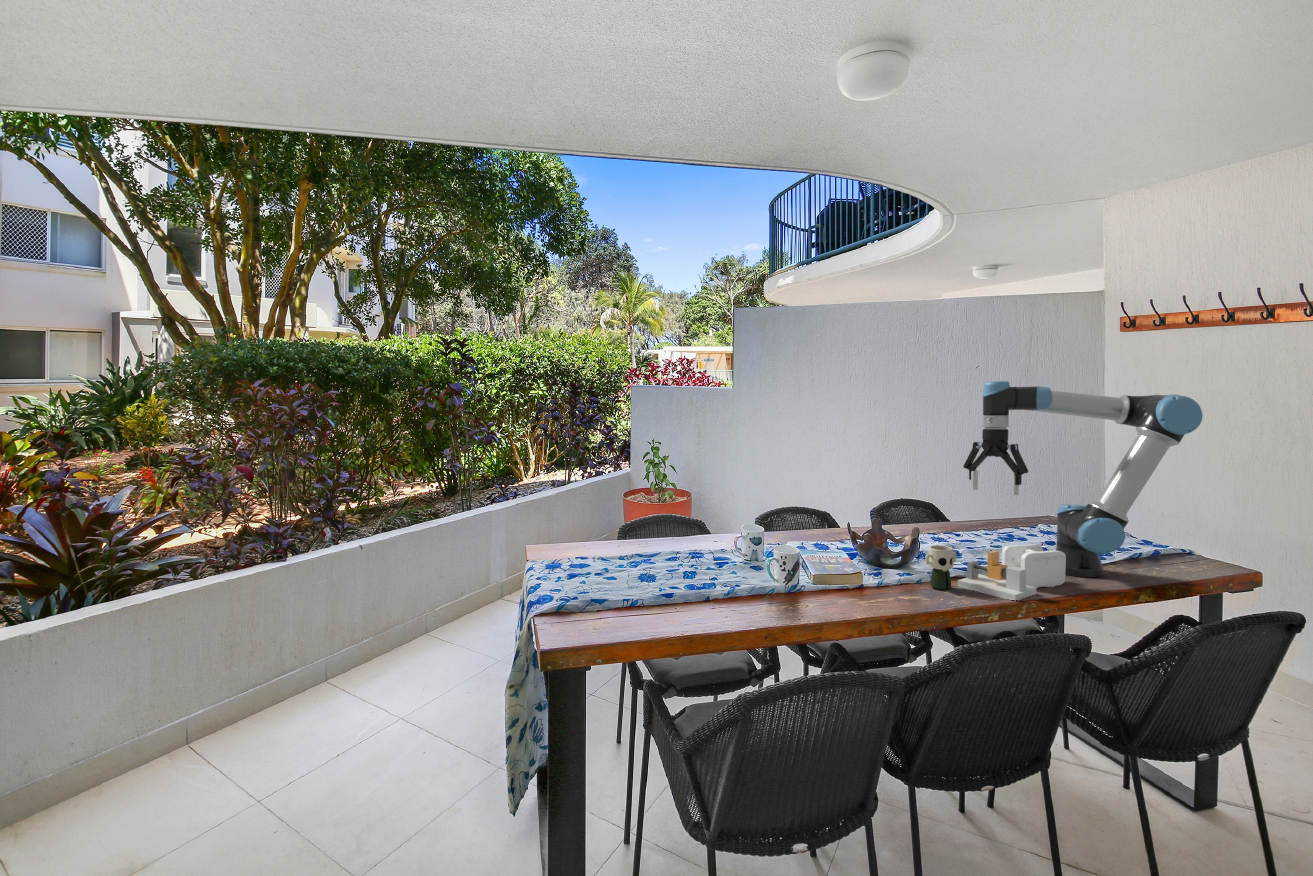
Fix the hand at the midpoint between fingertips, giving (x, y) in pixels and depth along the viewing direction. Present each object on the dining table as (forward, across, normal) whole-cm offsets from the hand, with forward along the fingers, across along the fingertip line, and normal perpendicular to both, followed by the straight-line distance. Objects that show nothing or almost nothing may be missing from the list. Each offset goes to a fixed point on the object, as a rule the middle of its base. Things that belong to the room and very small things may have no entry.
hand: (994, 492), depth 206 cm
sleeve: (+25, +8, -12) cm, 29 cm away
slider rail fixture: (+29, +8, -12) cm, 32 cm away
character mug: (+29, -3, -24) cm, 38 cm away
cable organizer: (+29, +11, +4) cm, 31 cm away
